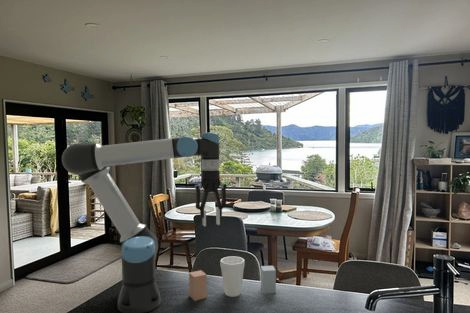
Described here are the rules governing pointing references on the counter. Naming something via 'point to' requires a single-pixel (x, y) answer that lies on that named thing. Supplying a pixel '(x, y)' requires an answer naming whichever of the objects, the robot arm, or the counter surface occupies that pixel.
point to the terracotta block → (197, 285)
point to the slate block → (268, 279)
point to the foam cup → (232, 274)
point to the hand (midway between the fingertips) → (211, 224)
